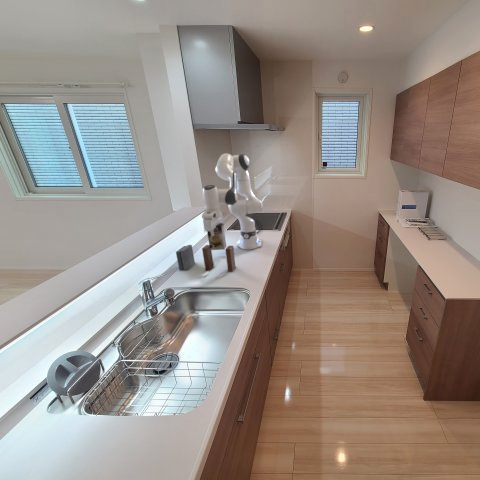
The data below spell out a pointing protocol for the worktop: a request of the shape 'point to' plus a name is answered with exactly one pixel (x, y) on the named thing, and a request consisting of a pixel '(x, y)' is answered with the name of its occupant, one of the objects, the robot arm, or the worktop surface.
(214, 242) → the coffee box
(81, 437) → the worktop surface
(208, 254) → the brown wooden bookends
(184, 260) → the grey books
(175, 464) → the worktop surface
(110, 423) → the worktop surface
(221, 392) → the worktop surface
